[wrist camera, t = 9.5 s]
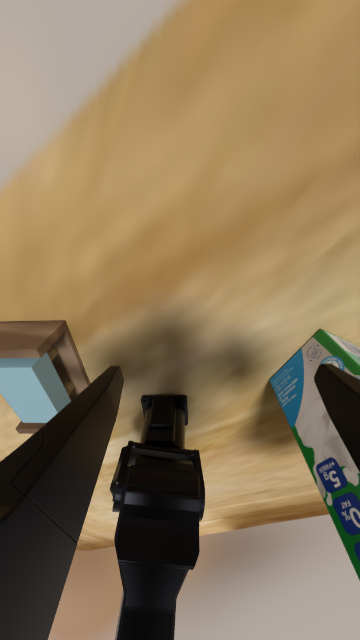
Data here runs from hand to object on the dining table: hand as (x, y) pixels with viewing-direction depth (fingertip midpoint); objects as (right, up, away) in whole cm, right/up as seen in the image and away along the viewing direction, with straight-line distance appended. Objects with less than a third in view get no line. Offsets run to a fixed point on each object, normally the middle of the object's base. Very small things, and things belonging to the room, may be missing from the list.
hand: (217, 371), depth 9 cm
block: (-18, -5, +15) cm, 24 cm away
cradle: (-18, -4, +17) cm, 25 cm away
